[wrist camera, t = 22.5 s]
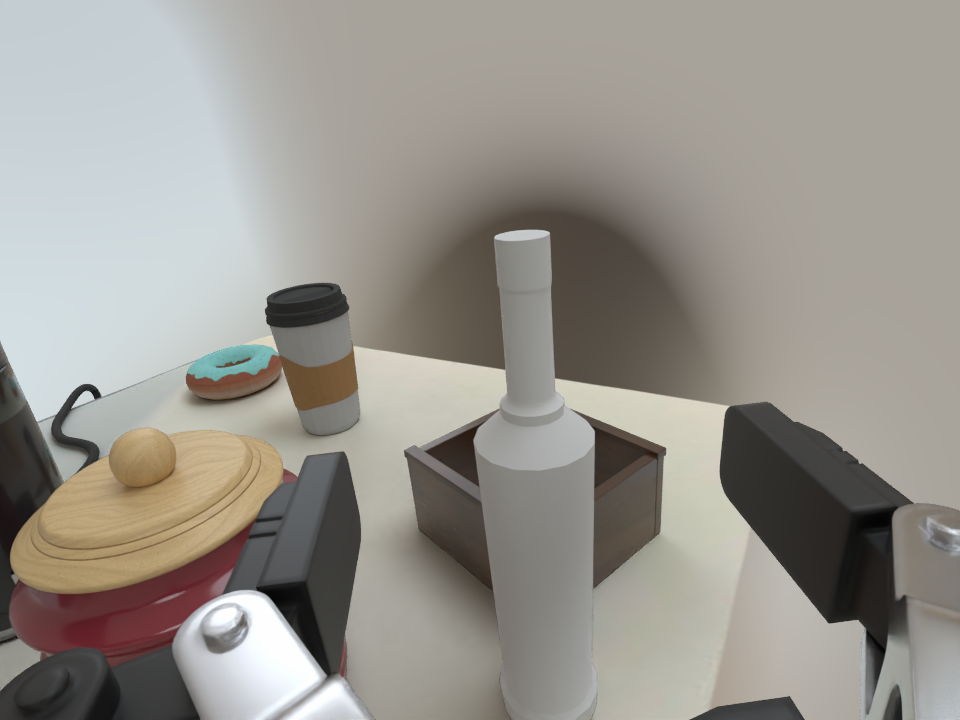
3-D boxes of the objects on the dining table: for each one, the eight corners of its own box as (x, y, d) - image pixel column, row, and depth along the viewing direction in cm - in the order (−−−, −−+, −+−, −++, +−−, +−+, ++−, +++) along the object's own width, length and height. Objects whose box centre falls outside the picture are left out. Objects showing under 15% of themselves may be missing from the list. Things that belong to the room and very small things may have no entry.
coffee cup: (384, 417, 62) (361, 287, 56) (318, 450, 56) (285, 310, 51) (344, 398, 67) (319, 278, 62) (280, 426, 62) (246, 297, 56)
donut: (284, 392, 70) (277, 364, 69) (183, 413, 67) (173, 383, 66) (286, 360, 81) (279, 334, 79) (198, 376, 78) (190, 350, 77)
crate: (416, 528, 44) (403, 450, 41) (531, 461, 51) (526, 390, 48) (541, 634, 34) (535, 539, 31) (662, 531, 41) (666, 447, 38)
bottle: (528, 767, 27) (484, 258, 17) (487, 679, 31) (433, 236, 22) (618, 720, 29) (623, 233, 19) (566, 643, 33) (549, 217, 23)
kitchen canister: (374, 606, 37) (320, 364, 30) (310, 835, 25) (198, 522, 18) (188, 612, 38) (96, 380, 31) (42, 836, 26) (-159, 538, 19)
